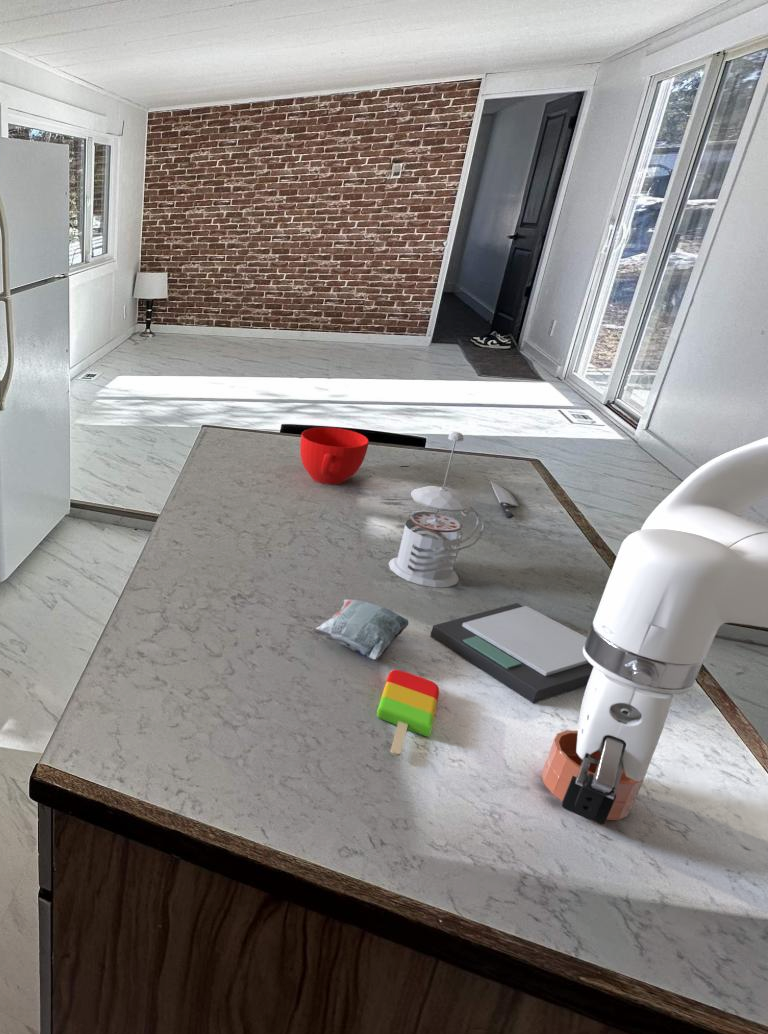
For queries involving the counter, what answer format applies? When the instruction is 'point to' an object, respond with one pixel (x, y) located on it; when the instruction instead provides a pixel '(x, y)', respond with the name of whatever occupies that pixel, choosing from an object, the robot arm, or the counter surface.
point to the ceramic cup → (332, 453)
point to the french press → (422, 560)
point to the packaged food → (363, 628)
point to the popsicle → (408, 705)
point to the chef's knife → (504, 499)
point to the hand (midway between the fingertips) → (584, 789)
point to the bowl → (567, 764)
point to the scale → (520, 650)
